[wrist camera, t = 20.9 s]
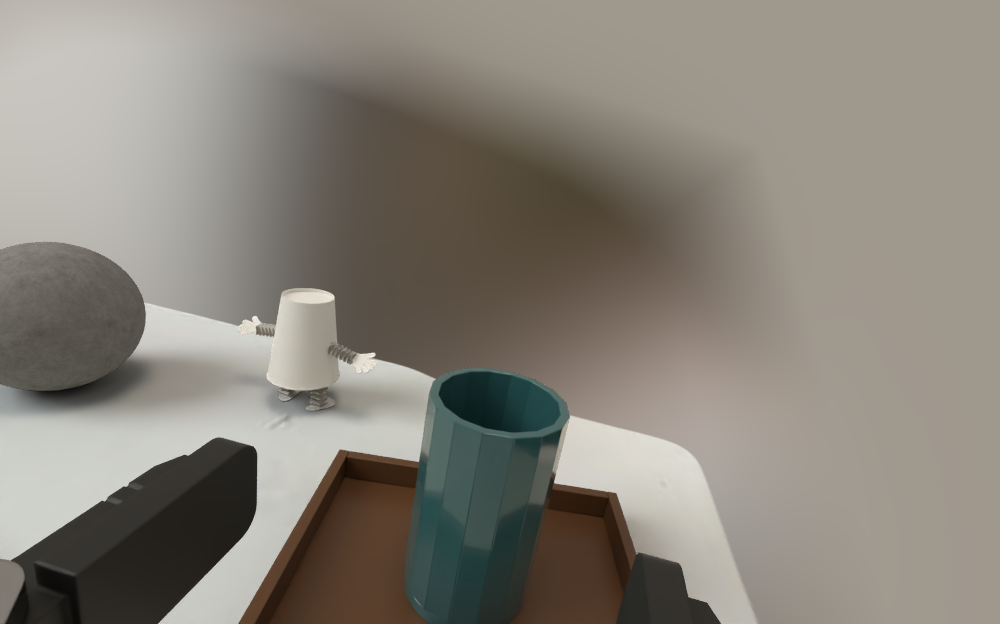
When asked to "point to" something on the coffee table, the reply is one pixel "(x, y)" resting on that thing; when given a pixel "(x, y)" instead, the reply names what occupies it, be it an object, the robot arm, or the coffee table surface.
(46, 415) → the coffee table surface
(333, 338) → the toy figure
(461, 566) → the tumbler
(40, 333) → the decorative ball
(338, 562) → the tray
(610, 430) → the coffee table surface
